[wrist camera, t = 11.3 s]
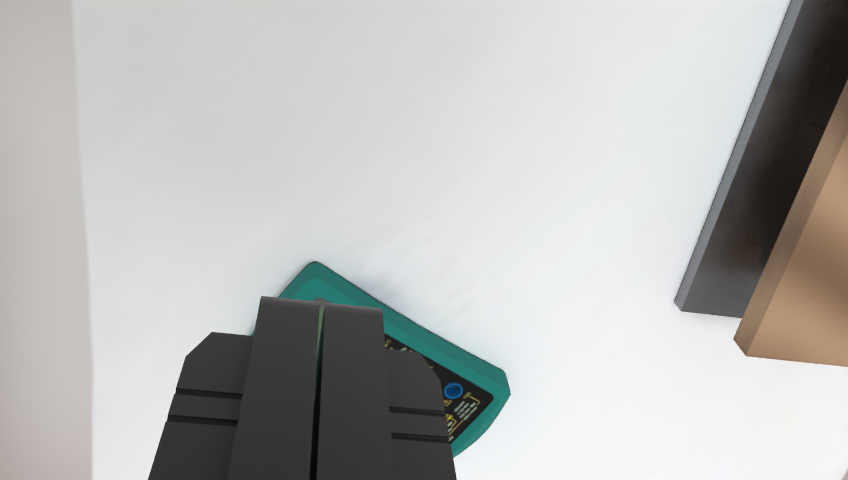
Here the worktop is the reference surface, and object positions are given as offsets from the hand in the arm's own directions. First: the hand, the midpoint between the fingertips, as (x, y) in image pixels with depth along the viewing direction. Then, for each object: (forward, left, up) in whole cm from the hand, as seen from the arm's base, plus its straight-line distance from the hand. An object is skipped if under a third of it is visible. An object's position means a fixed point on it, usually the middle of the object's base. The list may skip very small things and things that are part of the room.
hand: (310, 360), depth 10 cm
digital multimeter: (+19, +12, -30) cm, 37 cm away
